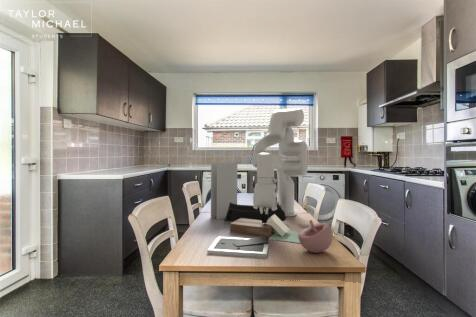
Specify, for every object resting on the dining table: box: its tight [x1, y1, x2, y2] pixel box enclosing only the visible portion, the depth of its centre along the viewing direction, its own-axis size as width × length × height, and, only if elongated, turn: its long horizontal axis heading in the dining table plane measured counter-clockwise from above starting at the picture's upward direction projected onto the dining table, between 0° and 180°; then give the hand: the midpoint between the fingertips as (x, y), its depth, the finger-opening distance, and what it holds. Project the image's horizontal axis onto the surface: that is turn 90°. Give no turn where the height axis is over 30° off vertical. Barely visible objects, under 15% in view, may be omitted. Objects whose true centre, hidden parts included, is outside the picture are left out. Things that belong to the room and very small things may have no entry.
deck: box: [229, 218, 277, 238], centre depth 126 cm, size 12×18×4 cm, turn 66°
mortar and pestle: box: [298, 219, 334, 254], centre depth 102 cm, size 12×12×12 cm
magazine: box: [223, 202, 287, 223], centre depth 141 cm, size 17×3×30 cm
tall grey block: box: [210, 161, 238, 220], centre depth 155 cm, size 14×6×30 cm, turn 133°
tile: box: [267, 214, 290, 236], centre depth 122 cm, size 7×9×2 cm
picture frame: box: [206, 236, 270, 259], centre depth 105 cm, size 16×3×21 cm
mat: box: [269, 230, 301, 245], centre depth 120 cm, size 15×14×1 cm
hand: (264, 222), depth 124 cm, fingers closed
